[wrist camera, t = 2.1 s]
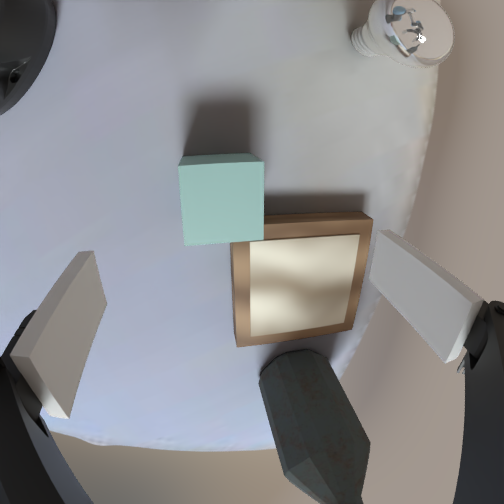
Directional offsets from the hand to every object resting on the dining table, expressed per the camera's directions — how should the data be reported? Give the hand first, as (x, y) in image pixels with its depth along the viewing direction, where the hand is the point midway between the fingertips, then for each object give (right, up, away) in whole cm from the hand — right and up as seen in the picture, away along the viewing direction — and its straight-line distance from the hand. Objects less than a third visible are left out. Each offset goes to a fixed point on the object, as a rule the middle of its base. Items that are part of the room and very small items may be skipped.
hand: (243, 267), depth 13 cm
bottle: (+6, -16, +26) cm, 31 cm away
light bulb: (+11, +21, +9) cm, 26 cm away
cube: (-3, +7, +14) cm, 15 cm away
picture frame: (+5, -2, +19) cm, 20 cm away
